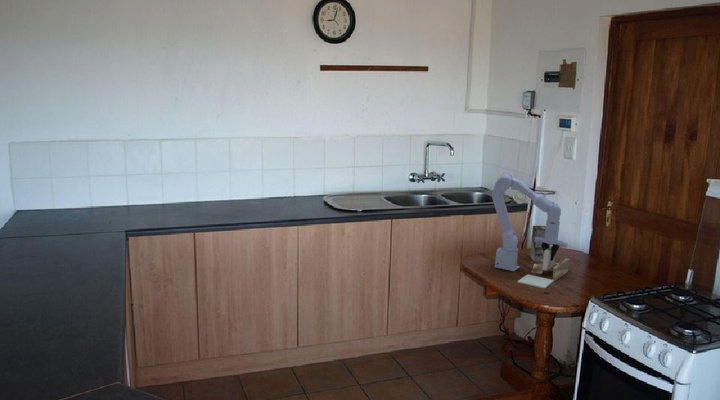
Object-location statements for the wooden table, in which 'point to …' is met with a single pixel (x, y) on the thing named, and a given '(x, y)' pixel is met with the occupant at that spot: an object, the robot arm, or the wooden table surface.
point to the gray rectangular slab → (547, 259)
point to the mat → (535, 281)
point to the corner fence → (558, 268)
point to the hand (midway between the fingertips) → (549, 259)
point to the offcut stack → (537, 269)
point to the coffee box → (537, 243)
